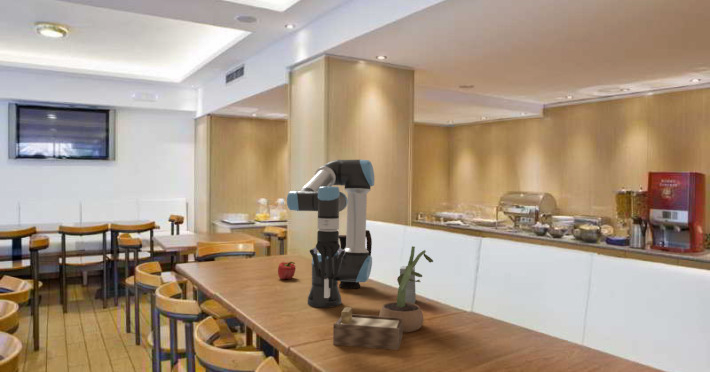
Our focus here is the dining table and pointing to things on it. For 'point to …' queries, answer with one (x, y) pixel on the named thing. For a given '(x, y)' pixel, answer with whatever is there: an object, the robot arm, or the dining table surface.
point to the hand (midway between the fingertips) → (327, 297)
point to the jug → (343, 245)
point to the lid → (365, 320)
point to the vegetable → (286, 270)
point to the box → (368, 334)
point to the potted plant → (401, 308)
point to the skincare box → (409, 287)
